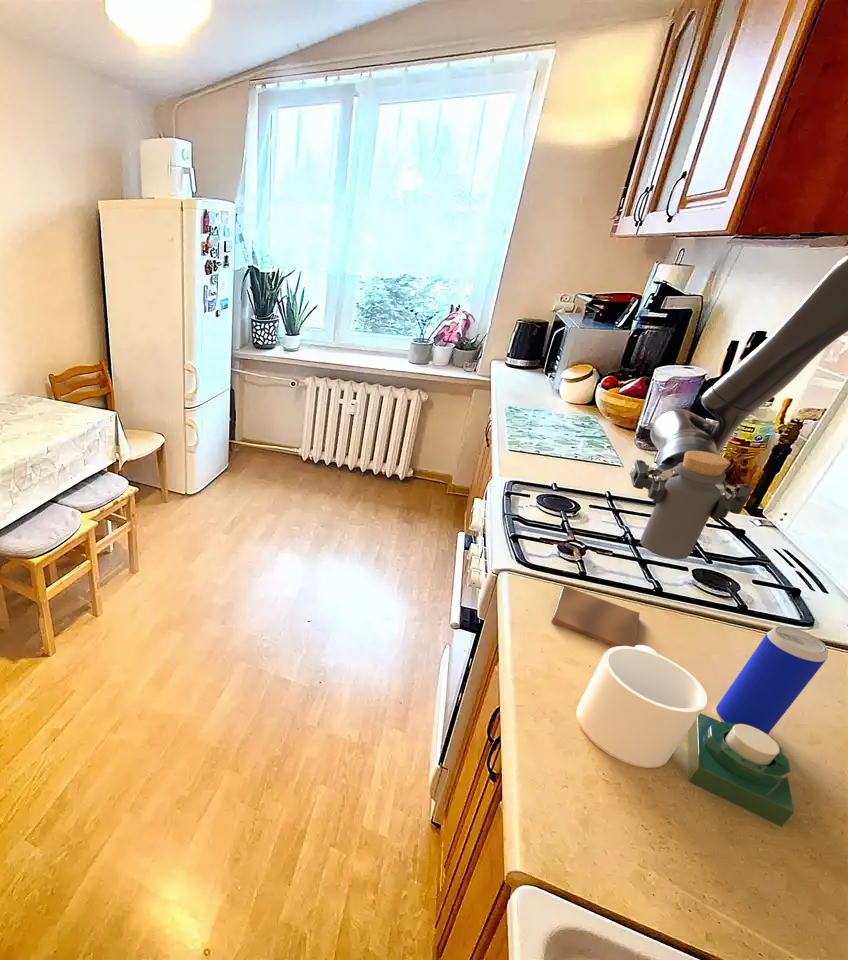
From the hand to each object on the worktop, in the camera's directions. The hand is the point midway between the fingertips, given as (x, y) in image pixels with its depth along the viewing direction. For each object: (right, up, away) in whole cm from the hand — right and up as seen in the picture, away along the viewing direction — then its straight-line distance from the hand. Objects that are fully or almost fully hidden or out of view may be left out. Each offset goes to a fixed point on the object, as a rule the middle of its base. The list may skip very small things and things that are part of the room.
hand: (688, 505), depth 72 cm
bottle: (+2, -7, +6) cm, 9 cm away
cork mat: (-2, -20, +15) cm, 25 cm away
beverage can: (+4, -29, -3) cm, 30 cm away
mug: (-12, -29, -3) cm, 32 cm away
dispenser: (-3, -32, -9) cm, 33 cm away
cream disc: (-3, -28, -11) cm, 31 cm away
